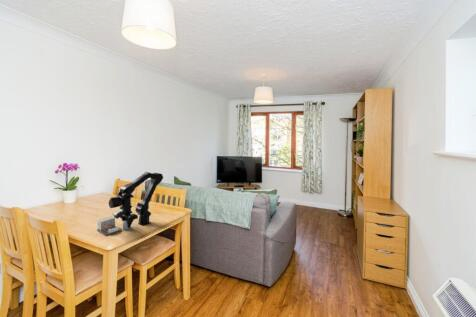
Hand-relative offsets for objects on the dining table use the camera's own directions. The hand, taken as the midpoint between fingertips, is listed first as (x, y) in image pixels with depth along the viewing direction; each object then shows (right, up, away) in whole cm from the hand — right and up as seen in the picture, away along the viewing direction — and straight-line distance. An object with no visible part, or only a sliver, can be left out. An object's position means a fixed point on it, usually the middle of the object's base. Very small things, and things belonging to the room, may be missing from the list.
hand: (127, 226), depth 158 cm
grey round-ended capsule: (0, -2, 0) cm, 2 cm away
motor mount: (-10, -2, -4) cm, 11 cm away
